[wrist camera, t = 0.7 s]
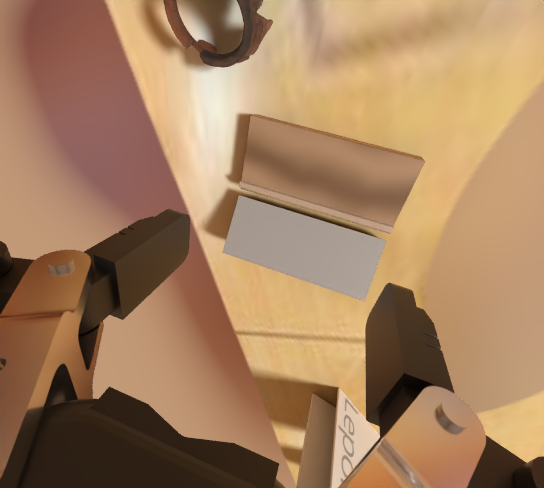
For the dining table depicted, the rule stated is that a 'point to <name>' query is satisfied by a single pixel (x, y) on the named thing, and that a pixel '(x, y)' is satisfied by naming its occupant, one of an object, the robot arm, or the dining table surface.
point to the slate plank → (304, 247)
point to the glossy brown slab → (328, 172)
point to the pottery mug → (250, 42)
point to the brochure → (333, 442)
